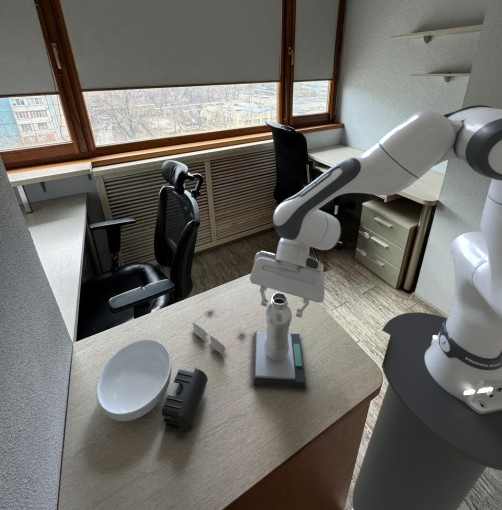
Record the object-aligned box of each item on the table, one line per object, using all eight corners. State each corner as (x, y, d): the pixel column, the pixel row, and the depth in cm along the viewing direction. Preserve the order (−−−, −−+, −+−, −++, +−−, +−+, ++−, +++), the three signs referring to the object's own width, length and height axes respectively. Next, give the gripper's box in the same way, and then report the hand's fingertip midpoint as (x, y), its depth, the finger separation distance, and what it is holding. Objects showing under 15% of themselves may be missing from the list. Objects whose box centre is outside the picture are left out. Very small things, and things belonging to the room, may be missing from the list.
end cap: (193, 437, 59) (191, 419, 56) (163, 429, 60) (159, 411, 57) (208, 387, 68) (207, 370, 65) (182, 381, 69) (180, 364, 66)
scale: (298, 338, 80) (299, 331, 79) (304, 387, 68) (305, 380, 67) (255, 336, 80) (255, 329, 79) (253, 384, 68) (253, 377, 67)
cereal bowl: (169, 425, 61) (165, 407, 58) (90, 439, 58) (83, 420, 56) (177, 351, 76) (174, 334, 73) (115, 360, 74) (110, 342, 71)
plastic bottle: (263, 341, 76) (264, 288, 68) (287, 341, 76) (291, 288, 68) (264, 364, 70) (266, 309, 62) (290, 365, 70) (295, 309, 62)
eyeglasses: (191, 330, 82) (191, 320, 81) (210, 313, 88) (210, 304, 87) (225, 358, 75) (226, 347, 73) (243, 337, 81) (244, 327, 79)
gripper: (254, 247, 75) (241, 300, 71) (328, 265, 69) (319, 324, 64) (259, 250, 81) (247, 299, 76) (328, 268, 74) (320, 322, 70)
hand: (281, 311), depth 70 cm, fingers open, 8 cm apart
